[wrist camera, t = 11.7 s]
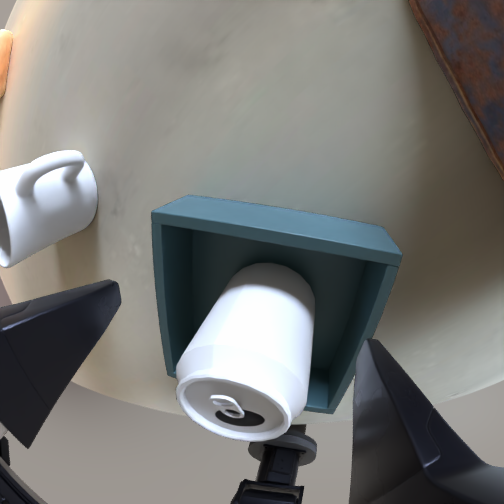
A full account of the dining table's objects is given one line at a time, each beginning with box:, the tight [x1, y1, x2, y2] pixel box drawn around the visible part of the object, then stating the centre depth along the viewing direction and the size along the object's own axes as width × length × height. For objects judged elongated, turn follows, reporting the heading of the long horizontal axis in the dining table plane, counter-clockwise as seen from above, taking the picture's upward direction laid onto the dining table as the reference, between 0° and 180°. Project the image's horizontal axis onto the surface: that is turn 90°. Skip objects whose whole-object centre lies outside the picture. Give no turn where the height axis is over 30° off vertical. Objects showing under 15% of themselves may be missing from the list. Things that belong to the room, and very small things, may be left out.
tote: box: [151, 195, 403, 414], centre depth 21 cm, size 16×16×6 cm
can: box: [176, 263, 315, 442], centre depth 17 cm, size 8×8×12 cm
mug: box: [0, 150, 98, 268], centre depth 19 cm, size 12×8×11 cm
